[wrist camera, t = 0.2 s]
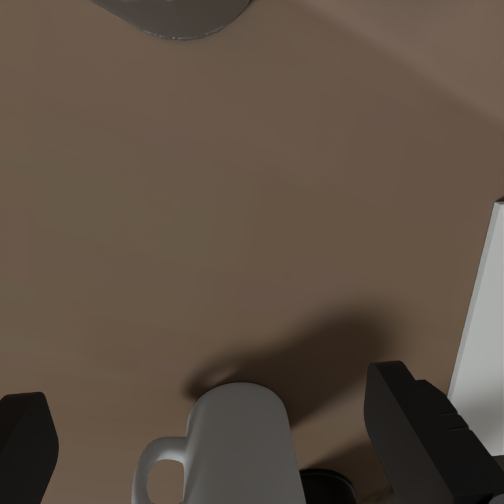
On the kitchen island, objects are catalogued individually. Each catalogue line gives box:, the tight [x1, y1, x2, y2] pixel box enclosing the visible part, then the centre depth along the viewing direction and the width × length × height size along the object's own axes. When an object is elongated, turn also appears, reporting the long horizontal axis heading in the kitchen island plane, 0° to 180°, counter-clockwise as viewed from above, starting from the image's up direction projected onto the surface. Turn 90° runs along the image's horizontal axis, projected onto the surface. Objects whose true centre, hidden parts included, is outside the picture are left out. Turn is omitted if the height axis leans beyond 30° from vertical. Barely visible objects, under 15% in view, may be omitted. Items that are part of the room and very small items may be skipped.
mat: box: [447, 202, 504, 456], centre depth 33 cm, size 26×7×1 cm, turn 2°
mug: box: [132, 382, 306, 504], centre depth 29 cm, size 12×8×11 cm
